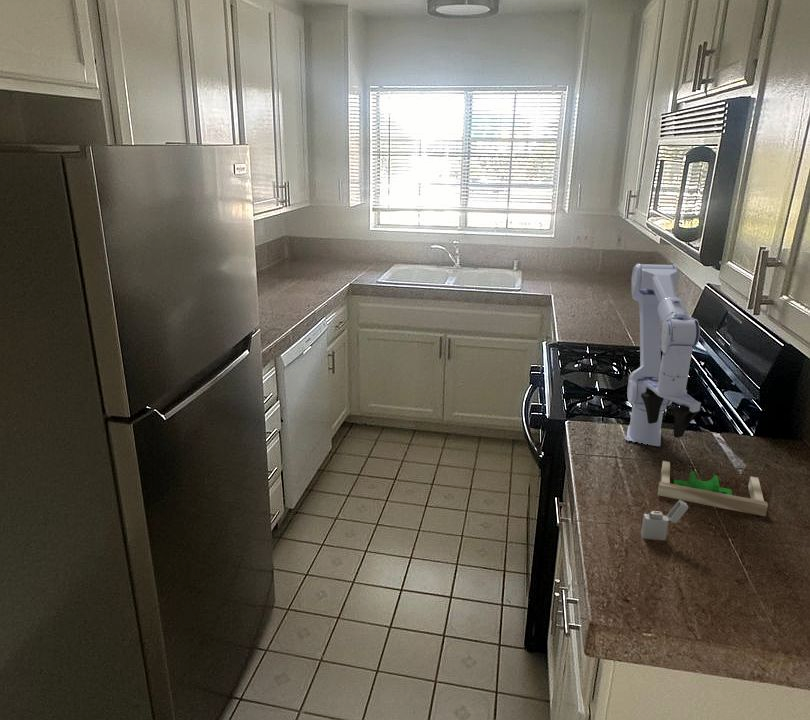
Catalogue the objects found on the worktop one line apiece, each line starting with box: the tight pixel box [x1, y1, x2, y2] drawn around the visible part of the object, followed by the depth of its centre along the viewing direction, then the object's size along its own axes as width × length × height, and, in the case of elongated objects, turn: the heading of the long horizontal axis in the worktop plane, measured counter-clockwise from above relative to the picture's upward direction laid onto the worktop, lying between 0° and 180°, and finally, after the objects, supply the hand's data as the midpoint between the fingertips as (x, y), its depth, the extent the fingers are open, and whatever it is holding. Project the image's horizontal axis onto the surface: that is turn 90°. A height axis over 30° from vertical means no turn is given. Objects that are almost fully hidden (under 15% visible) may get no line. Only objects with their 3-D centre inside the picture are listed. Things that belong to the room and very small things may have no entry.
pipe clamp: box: [672, 471, 733, 495], centre depth 128 cm, size 11×4×5 cm
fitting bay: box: [657, 460, 769, 517], centre depth 129 cm, size 12×20×2 cm, turn 67°
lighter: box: [640, 499, 689, 541], centre depth 113 cm, size 7×2×8 cm, turn 81°
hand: (664, 429), depth 136 cm, fingers open, 7 cm apart
